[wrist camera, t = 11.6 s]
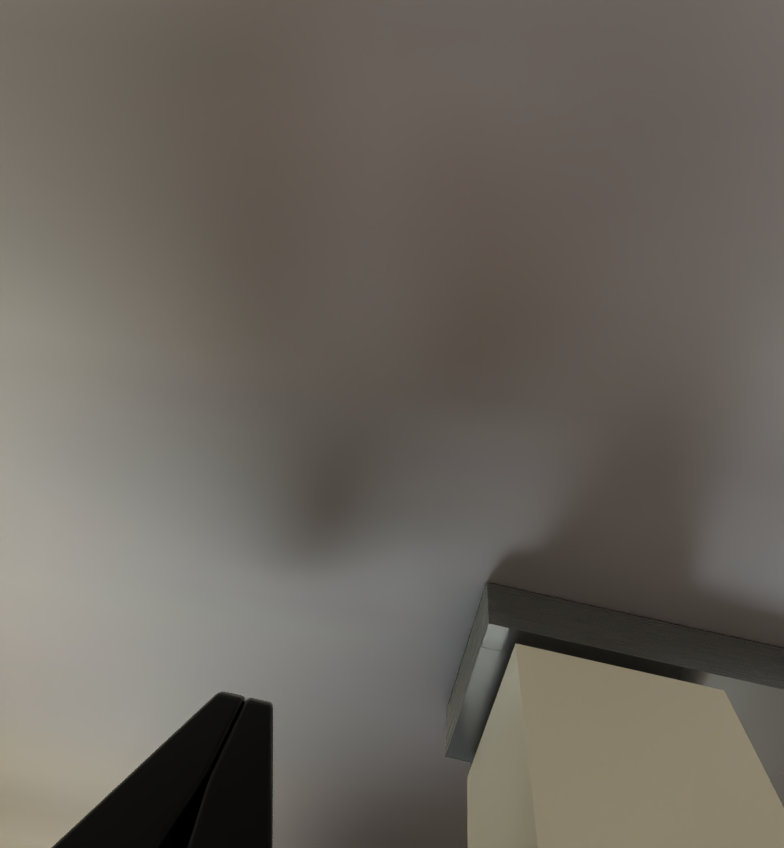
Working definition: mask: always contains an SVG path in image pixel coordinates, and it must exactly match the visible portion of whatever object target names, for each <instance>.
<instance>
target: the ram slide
mask: <svg viewBox="0 0 784 848" xmlns="http://www.w3.org/2000/svg"><path fill="white" fill-rule="evenodd" d="M467 841H468V848H784V807H783V805H782V803H781V801H780V799H779V797H778V795H777V793H776V791H775V789H774V787H773V785H772V783H771V781H770V779H769V777H768V775H767V773H766V771H765V769H764V768H763V766H762V764H761V762H760V760H759V758H758V756H757V754H756V752H755V750H754V748H753V746H752V744H751V742H750V740H749V738H748V736H747V734H746V732H745V730H744V728H743V726H742V724H741V722H740V720H739V718H738V717H737V715H736V713H735V711H734V709H733V707H732V705H731V703H730V701H729V699H728V697H727V695H726V693H725V691H724V690H721V689H716V688H712V687H707V686H703V685H698V684H694V683H689V682H685V681H681V680H676V679H672V678H667V677H663V676H658V675H654V674H649V673H645V672H641V671H636V670H632V669H627V668H623V667H618V666H614V665H609V664H605V663H601V662H596V661H592V660H587V659H583V658H578V657H574V656H570V655H565V654H561V653H556V652H552V651H547V650H543V649H538V648H534V647H530V646H525V645H521V644H516V643H515V646H514V649H513V652H512V654H511V657H510V660H509V663H508V665H507V668H506V671H505V674H504V677H503V679H502V682H501V685H500V688H499V690H498V693H497V696H496V699H495V702H494V704H493V707H492V710H491V713H490V715H489V718H488V721H487V724H486V727H485V729H484V732H483V735H482V738H481V740H480V743H479V746H478V749H477V752H476V754H475V757H474V760H473V763H472V765H471V768H470V771H469V774H468V777H467Z"/></svg>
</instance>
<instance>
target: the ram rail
mask: <svg viewBox="0 0 784 848" xmlns="http://www.w3.org/2000/svg"><path fill="white" fill-rule="evenodd" d="M515 643H516V644H521V645H525V646H530V647H534V648H538V649H543V650H547V651H552V652H556V653H561V654H565V655H570V656H574V657H578V658H583V659H587V660H592V661H596V662H601V663H605V664H609V665H614V666H618V667H623V668H627V669H632V670H636V671H641V672H645V673H649V674H654V675H658V676H663V677H667V678H672V679H676V680H681V681H685V682H689V683H694V684H698V685H703V686H707V687H712V688H716V689H721V690H724V691H725V693H726V695H727V697H728V699H729V701H730V703H731V705H732V707H733V709H734V711H735V713H736V715H737V717H738V718H739V720H740V722H741V724H742V726H743V728H744V730H745V732H746V734H747V736H748V738H749V740H750V742H751V744H752V746H753V748H754V750H755V752H756V754H757V756H758V758H759V760H760V762H761V764H762V766H763V768H764V769H765V771H766V773H767V775H768V777H769V779H770V781H771V783H772V785H773V787H774V789H775V791H776V793H777V795H778V797H779V799H780V801H781V803H782V805H783V807H784V648H779V647H775V646H770V645H766V644H761V643H757V642H752V641H748V640H743V639H739V638H734V637H730V636H725V635H721V634H716V633H712V632H707V631H703V630H698V629H694V628H689V627H685V626H680V625H676V624H671V623H667V622H662V621H658V620H653V619H649V618H644V617H640V616H635V615H631V614H626V613H622V612H617V611H613V610H608V609H604V608H599V607H595V606H590V605H586V604H581V603H577V602H572V601H568V600H563V599H559V598H554V597H550V596H545V595H540V594H536V593H531V592H527V591H522V590H518V589H513V588H509V587H504V586H500V585H495V584H491V583H486V586H485V589H484V593H483V596H482V599H481V602H480V605H479V609H478V612H477V615H476V618H475V621H474V625H473V628H472V631H471V634H470V637H469V640H468V644H467V647H466V650H465V653H464V656H463V660H462V663H461V666H460V669H459V672H458V676H457V679H456V682H455V685H454V688H453V692H452V695H451V698H450V701H449V704H448V707H447V722H446V753H445V757H450V758H454V759H458V760H463V761H467V762H471V763H473V760H474V757H475V754H476V752H477V749H478V746H479V743H480V740H481V738H482V735H483V732H484V729H485V727H486V724H487V721H488V718H489V715H490V713H491V710H492V707H493V704H494V702H495V699H496V696H497V693H498V690H499V688H500V685H501V682H502V679H503V677H504V674H505V671H506V668H507V665H508V663H509V660H510V657H511V654H512V652H513V649H514V646H515Z"/></svg>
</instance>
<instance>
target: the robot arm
mask: <svg viewBox="0 0 784 848" xmlns="http://www.w3.org/2000/svg"><path fill="white" fill-rule="evenodd" d="M272 833H273V705H272V703H271V702H267V701H263V700H259V699H254V698H249V699H247V700H245V698H244V697H243V696H241V695H237V694H232V693H228V692H220V693H218V694H216V695H215V696H214V697H213V698H212V699H211V700H210V701H208V702H207V703H206V704H205V705H204V706H203V707H202V708H201V709H200V710H199V711H198V712H197V713H196V714H194V715H193V716H192V717H191V718H190V719H189V720H188V721H187V722H186V723H185V724H184V725H183V726H182V727H181V728H179V729H178V730H177V731H176V732H175V733H174V734H173V735H172V736H171V737H170V738H169V739H168V740H167V741H166V742H164V743H163V744H162V745H161V746H160V747H159V748H158V749H157V750H156V751H155V752H154V753H153V754H152V755H151V756H149V757H148V758H147V759H146V760H145V761H144V762H143V763H142V764H141V765H140V766H139V767H138V768H137V769H135V770H134V771H133V772H132V773H131V774H130V775H129V776H128V777H127V778H126V779H125V780H124V781H123V782H122V783H120V784H119V785H118V786H117V787H116V788H115V789H114V790H113V791H112V792H111V793H110V794H109V795H108V796H107V797H105V798H104V799H103V800H102V801H101V802H100V803H99V804H98V805H97V806H96V807H95V808H94V809H93V810H91V811H90V812H89V813H88V814H87V815H86V816H85V817H84V818H83V819H82V820H81V821H80V822H79V823H78V824H76V825H75V826H74V827H73V828H72V829H71V830H70V831H69V832H68V833H67V834H66V835H65V836H64V837H63V838H61V839H60V840H59V841H58V842H57V843H56V844H55V845H54V846H53V847H52V848H272Z"/></svg>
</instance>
